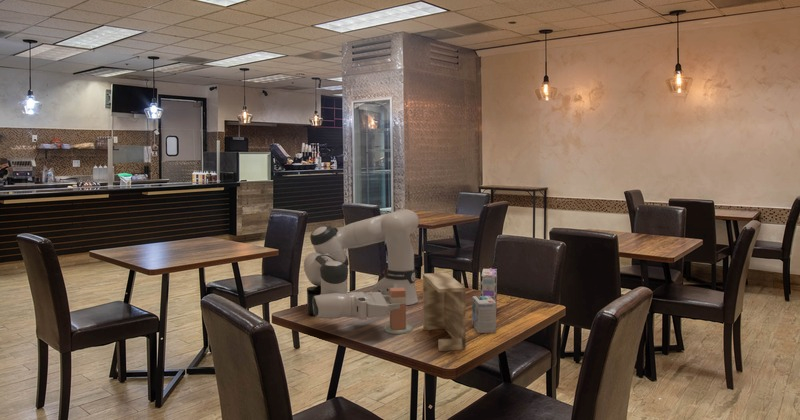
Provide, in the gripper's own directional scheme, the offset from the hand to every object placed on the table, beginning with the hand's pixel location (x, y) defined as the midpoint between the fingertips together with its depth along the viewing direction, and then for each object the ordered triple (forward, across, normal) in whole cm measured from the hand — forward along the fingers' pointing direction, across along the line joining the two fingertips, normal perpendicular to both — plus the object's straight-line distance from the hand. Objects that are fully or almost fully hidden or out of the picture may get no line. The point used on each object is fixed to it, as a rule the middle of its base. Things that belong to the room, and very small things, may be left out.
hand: (397, 302), depth 203 cm
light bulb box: (+31, +5, -10) cm, 33 cm away
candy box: (+39, -14, -10) cm, 43 cm away
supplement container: (-28, -27, -10) cm, 41 cm away
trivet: (0, 0, -10) cm, 10 cm away
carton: (0, 0, -9) cm, 9 cm away
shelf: (+13, +13, -10) cm, 21 cm away
